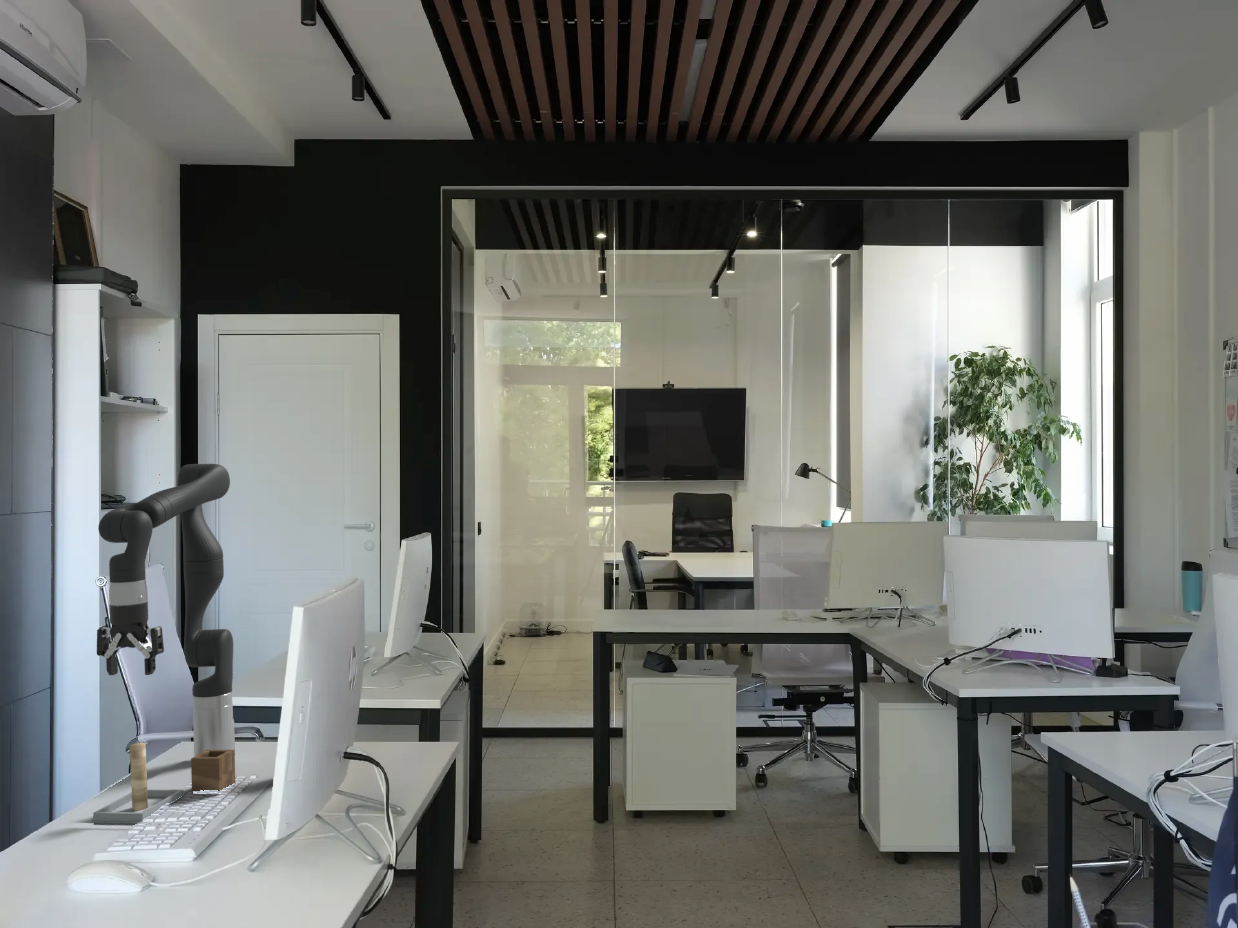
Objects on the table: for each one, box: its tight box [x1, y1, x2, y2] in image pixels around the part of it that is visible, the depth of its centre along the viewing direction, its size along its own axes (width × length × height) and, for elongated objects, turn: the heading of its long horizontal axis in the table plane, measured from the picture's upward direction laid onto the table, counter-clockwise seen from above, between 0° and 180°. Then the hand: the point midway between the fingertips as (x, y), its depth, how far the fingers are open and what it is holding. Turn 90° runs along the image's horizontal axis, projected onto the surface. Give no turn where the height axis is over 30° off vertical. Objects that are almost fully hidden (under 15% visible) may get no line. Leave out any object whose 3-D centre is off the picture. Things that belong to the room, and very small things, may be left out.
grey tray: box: [92, 788, 184, 827], centre depth 199 cm, size 14×11×2 cm
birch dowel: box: [129, 742, 149, 812], centre depth 199 cm, size 3×3×14 cm
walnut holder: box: [190, 749, 236, 792], centre depth 209 cm, size 7×7×9 cm
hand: (131, 674), depth 204 cm, fingers open, 8 cm apart
